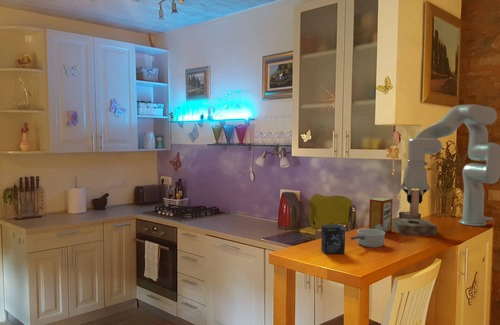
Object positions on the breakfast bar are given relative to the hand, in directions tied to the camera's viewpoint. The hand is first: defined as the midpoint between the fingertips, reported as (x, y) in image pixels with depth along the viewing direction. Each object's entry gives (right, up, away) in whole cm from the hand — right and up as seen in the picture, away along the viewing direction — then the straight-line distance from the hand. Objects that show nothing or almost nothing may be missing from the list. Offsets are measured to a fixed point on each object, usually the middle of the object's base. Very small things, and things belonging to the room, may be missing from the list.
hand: (414, 202), depth 198 cm
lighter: (-18, -15, -9) cm, 25 cm away
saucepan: (-31, -16, -26) cm, 43 cm away
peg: (0, -6, 0) cm, 6 cm away
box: (-46, -16, -34) cm, 60 cm away
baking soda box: (-16, -14, +1) cm, 21 cm away
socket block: (0, -14, +1) cm, 14 cm away
